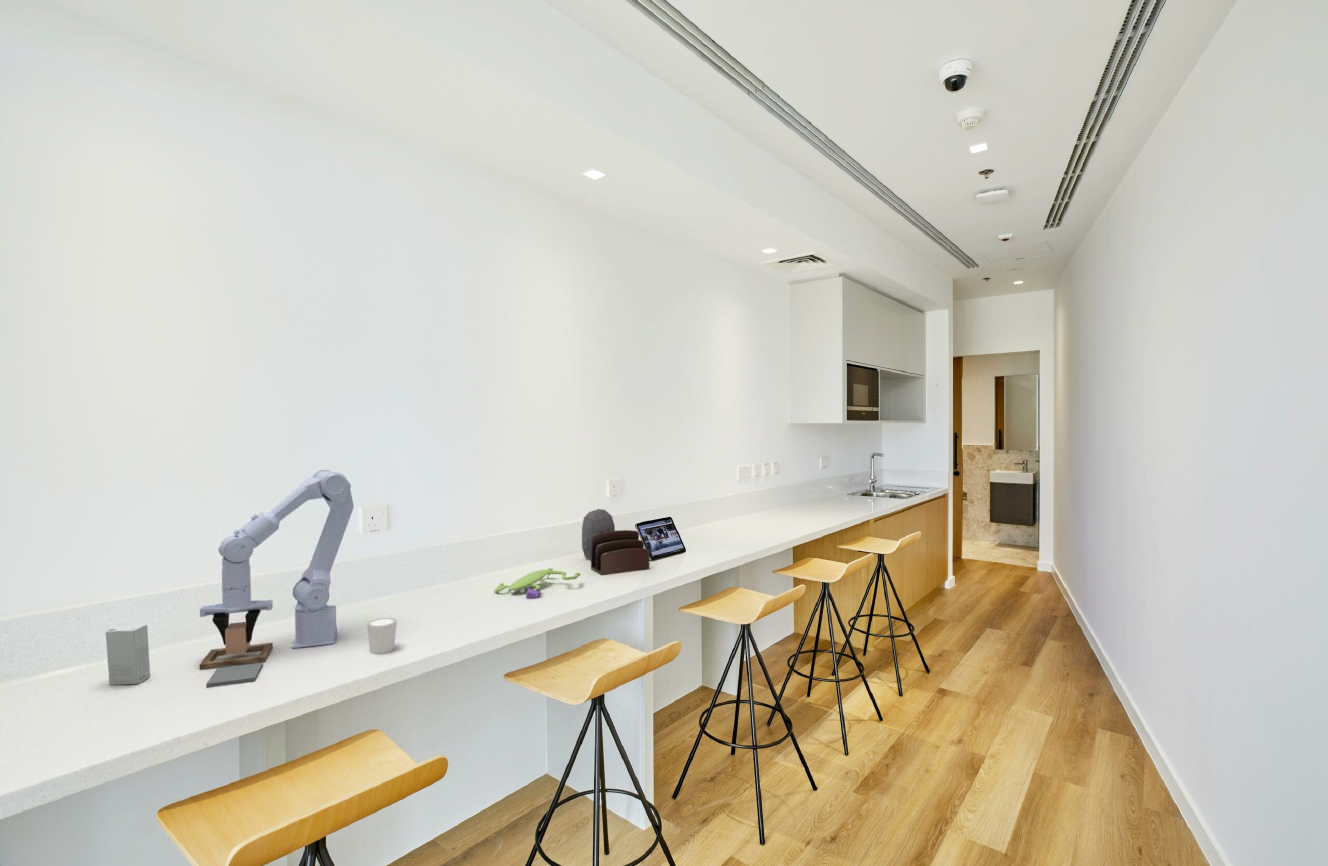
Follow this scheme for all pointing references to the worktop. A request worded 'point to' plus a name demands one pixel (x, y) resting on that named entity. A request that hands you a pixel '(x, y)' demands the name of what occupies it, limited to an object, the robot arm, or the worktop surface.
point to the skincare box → (128, 654)
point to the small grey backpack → (595, 528)
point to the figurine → (532, 582)
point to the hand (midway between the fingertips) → (237, 642)
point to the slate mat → (235, 674)
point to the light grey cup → (381, 635)
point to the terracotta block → (236, 638)
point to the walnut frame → (210, 657)
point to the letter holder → (618, 552)
